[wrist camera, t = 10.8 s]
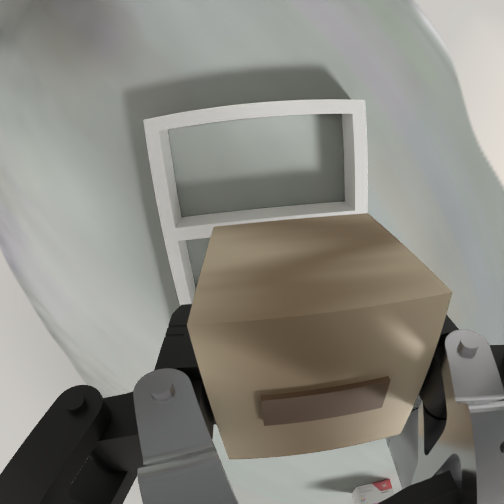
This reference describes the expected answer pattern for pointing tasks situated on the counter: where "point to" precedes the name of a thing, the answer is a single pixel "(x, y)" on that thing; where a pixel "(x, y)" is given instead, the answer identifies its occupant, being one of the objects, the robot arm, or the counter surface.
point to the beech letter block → (312, 333)
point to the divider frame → (202, 225)
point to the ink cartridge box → (372, 492)
